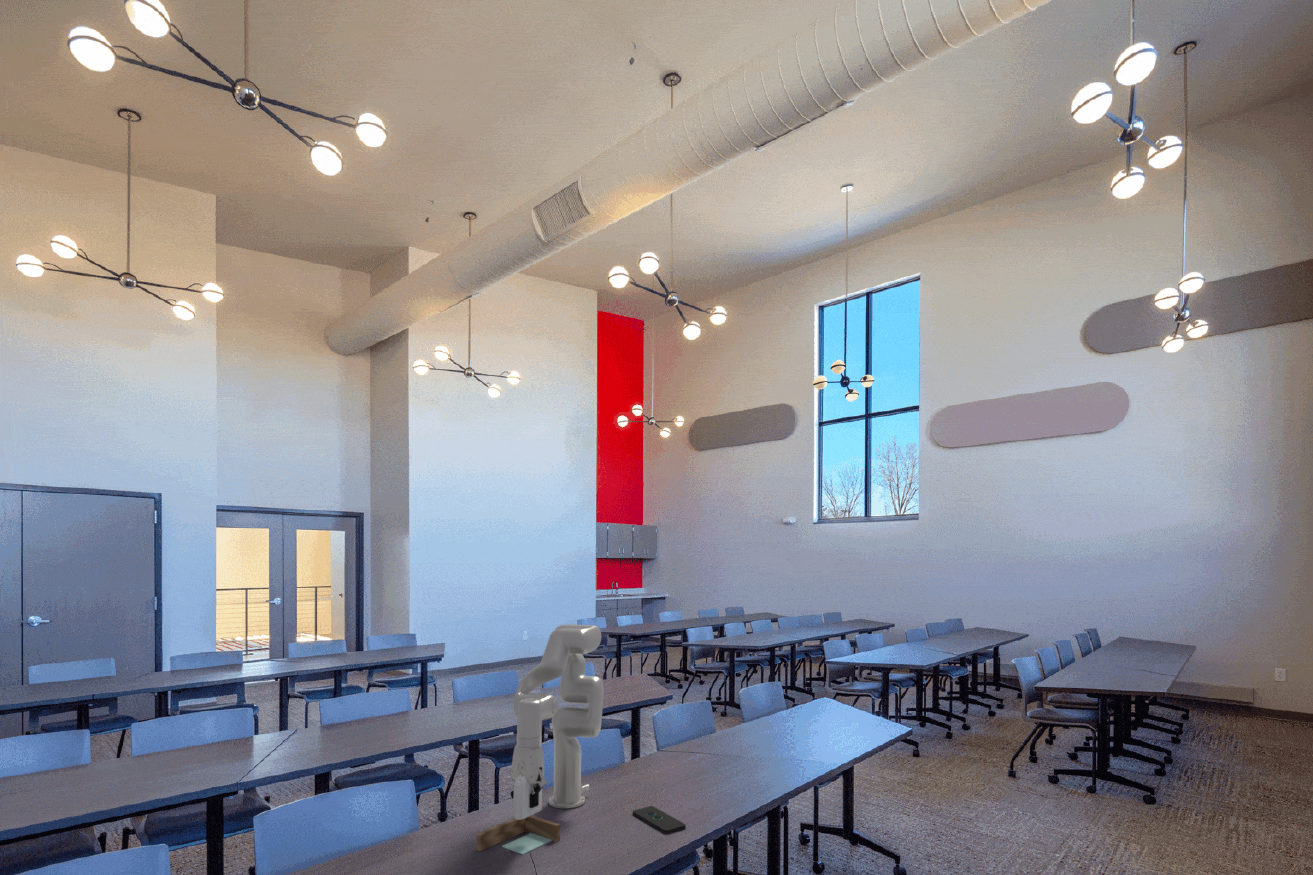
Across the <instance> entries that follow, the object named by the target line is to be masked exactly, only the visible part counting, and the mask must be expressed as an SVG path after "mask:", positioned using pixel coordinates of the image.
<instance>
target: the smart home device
mask: <svg viewBox="0 0 1313 875" xmlns="http://www.w3.org/2000/svg"><path fill="white" fill-rule="evenodd" d="M632 815H633V816H634V817H635V818H638V819H639V820H641V821H643V823H646V824H647V825H649V826H651V827H652V828H654V829H656V830H658V831H659V832H661V833H662V834H664V835H669V834H673V833H676V832H681V831H683V830H686V829H687V828H686V827H687V824H685V823H684V822H682V821H681V820H679V819H677V818H675V817H674V816H671V815H670V814H668V813H666V812H664V811H662V810H660V809H658V808H657V807H655V806H653V805H650V806H645V807H642V808H638V809H634V810H632Z"/></svg>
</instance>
